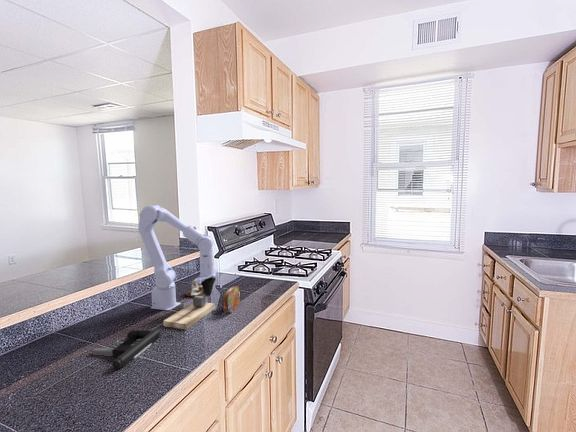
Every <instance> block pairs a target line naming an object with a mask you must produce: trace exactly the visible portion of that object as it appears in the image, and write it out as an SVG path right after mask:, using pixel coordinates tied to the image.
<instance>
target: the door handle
mask: <svg viewBox="0 0 576 432" xmlns="http://www.w3.org/2000/svg"><path fill="white" fill-rule="evenodd" d="M160 335H161V331H160V330H159V329H157V328H156V329H153V330H141V329H139V330H138V329H136V330H135V329H133V330H130V331H128V333H127V336H126V338H127V339H125V340H124V341H123V342H121V343H120V344H119V345H117V346H116V347H95V348H92V350H91V355H92V354H93V355H95V356H102V355H104V357H112V358H113V359H114V360H113V362H112V365H111V366H112V367H113V369H114V370H119V369H120V368H123V367H124V366H125V365H127V364H128V363H129V362H131V360H134V359H137V357H139V356H140V355H141V354H142V353H144V352H145V351H146V350H147V349H148V348H150V347H151V346H152V343H153V342H155V341H156V340H157V339H159V338H160ZM135 342H136V343H135ZM134 343H135V344H134Z"/></svg>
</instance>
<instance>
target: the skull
mask: <svg viewBox="0 0 576 432" xmlns="http://www.w3.org/2000/svg"><path fill="white" fill-rule="evenodd" d="M197 278H198V277H196V278H195V279H193V281H192V282H191V286H190V288H191V290H189V291H187V292H185V295H186V296H187V297H192V298H193V297H195V296H196V295H200V296H205V297H206V295H205V292H204V289H203V287H202V285H201V284H196V279H197Z"/></svg>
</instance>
